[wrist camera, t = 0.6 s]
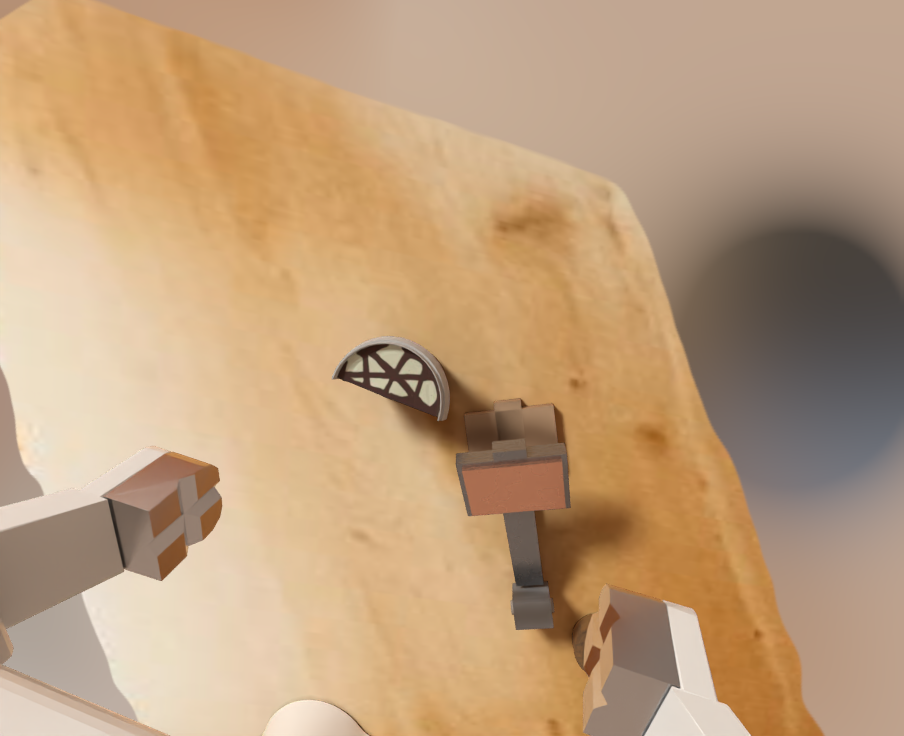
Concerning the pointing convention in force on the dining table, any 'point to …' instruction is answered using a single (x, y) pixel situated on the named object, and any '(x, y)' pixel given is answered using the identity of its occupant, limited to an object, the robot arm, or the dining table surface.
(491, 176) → the dining table surface
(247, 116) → the dining table surface
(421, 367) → the food container
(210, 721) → the dining table surface
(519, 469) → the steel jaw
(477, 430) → the walnut jaw
